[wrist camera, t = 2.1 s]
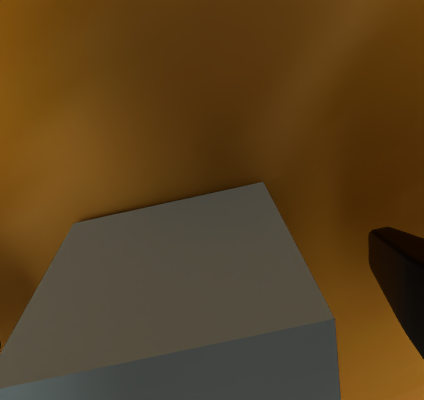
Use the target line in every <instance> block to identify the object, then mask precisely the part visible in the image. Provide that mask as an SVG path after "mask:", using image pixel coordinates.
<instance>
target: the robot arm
mask: <svg viewBox="0 0 424 400" xmlns="http://www.w3.org/2000/svg"><path fill="white" fill-rule="evenodd" d="M368 245H369V264H370V268H371V270H372V272H373V274H374V276H375V278H376V280H377V282H378V283H379V285H380V287H381V289H382V291H383V293H384V295H385V297H386V298H387V300H388V302H389V304H390V306H391V308H392V310H393V312H394V313H395V315H396V317H397V319H398V321H399V323H400V324H401V326H402V328H403V329H404V331H405V333H406V334H407V336H408V337H409V339H410V340H411V342H412V343H413V345H414V346H415V347H416V349H417V350H418V352H419V353H420V355H421V356H422V358H423V359H424V238H421V237H418V236H415V235H412V234H409V233H406V232H403V231H400V230H397V229H394V228H391V227H383V228H378V229H373V230H371V231H370V232H369V236H368ZM0 348H1V343H0Z"/></svg>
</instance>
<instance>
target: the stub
mask: <svg viewBox="0 0 424 400" xmlns="http://www.w3.org/2000/svg"><path fill="white" fill-rule="evenodd" d="M0 400H341V397H340V383H339V369H338V355H337V342H336V328H335V318H334V316H333V314H332V312H331V310H330V309H329V307H328V305H327V303H326V301H325V299H324V297H323V295H322V293H321V291H320V289H319V288H318V286H317V284H316V282H315V280H314V278H313V276H312V274H311V272H310V270H309V268H308V266H307V265H306V263H305V261H304V259H303V257H302V255H301V253H300V251H299V249H298V247H297V245H296V244H295V242H294V240H293V238H292V236H291V234H290V232H289V230H288V228H287V226H286V224H285V223H284V221H283V219H282V217H281V215H280V213H279V211H278V209H277V207H276V205H275V203H274V202H273V200H272V198H271V196H270V194H269V192H268V190H267V188H266V186H265V184H264V182H260V183H256V184H251V185H246V186H242V187H237V188H233V189H228V190H224V191H219V192H215V193H210V194H205V195H201V196H196V197H192V198H187V199H183V200H178V201H173V202H169V203H164V204H160V205H155V206H151V207H146V208H141V209H137V210H132V211H128V212H123V213H119V214H114V215H109V216H105V217H100V218H96V219H91V220H87V221H82V222H78V223H73V225H72V227H71V229H70V230H69V232H68V234H67V236H66V238H65V239H64V241H63V243H62V245H61V246H60V248H59V250H58V252H57V254H56V255H55V257H54V259H53V261H52V262H51V264H50V266H49V268H48V270H47V271H46V273H45V275H44V277H43V278H42V280H41V282H40V284H39V286H38V287H37V289H36V291H35V293H34V294H33V296H32V298H31V300H30V302H29V303H28V305H27V307H26V309H25V310H24V312H23V314H22V316H21V317H20V319H19V321H18V323H17V325H16V326H15V328H14V330H13V332H12V333H11V335H10V337H9V339H8V341H7V342H6V344H5V346H4V348H3V349H2V351H1V353H0Z"/></svg>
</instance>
